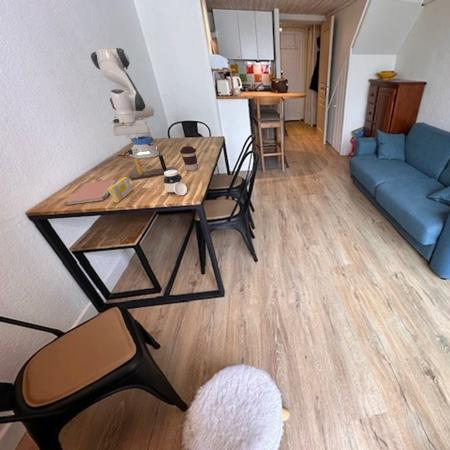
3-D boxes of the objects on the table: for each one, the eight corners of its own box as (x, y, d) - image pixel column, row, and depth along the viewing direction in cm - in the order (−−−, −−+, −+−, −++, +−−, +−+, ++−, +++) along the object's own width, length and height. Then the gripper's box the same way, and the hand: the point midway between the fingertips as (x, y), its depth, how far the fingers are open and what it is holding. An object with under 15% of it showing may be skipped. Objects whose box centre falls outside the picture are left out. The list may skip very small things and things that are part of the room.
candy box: (129, 190, 142) (124, 176, 137) (133, 190, 142) (128, 176, 138) (113, 203, 128) (107, 188, 124) (118, 202, 128) (111, 188, 124)
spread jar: (174, 187, 145) (169, 168, 138) (193, 188, 144) (188, 169, 137) (163, 196, 134) (156, 176, 128) (182, 197, 133) (177, 176, 127)
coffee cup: (202, 167, 176) (198, 146, 168) (193, 172, 168) (188, 149, 160) (191, 166, 179) (186, 145, 171) (181, 170, 171) (175, 148, 163)
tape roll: (134, 145, 161) (132, 140, 159) (133, 142, 169) (132, 137, 167) (153, 143, 166) (151, 138, 164) (151, 140, 174) (150, 135, 172)
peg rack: (131, 180, 155) (125, 162, 149) (131, 175, 163) (124, 158, 157) (176, 172, 167) (171, 155, 161) (173, 168, 174) (169, 152, 168)
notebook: (105, 200, 131) (103, 196, 130) (67, 205, 126) (65, 201, 125) (118, 182, 153) (117, 179, 152) (86, 185, 148) (85, 182, 147)
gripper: (145, 116, 164) (151, 138, 171) (108, 119, 155) (116, 142, 162) (145, 118, 159) (152, 140, 167) (107, 120, 150) (116, 144, 158)
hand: (134, 141), depth 164 cm, fingers closed on tape roll, 2 cm apart
